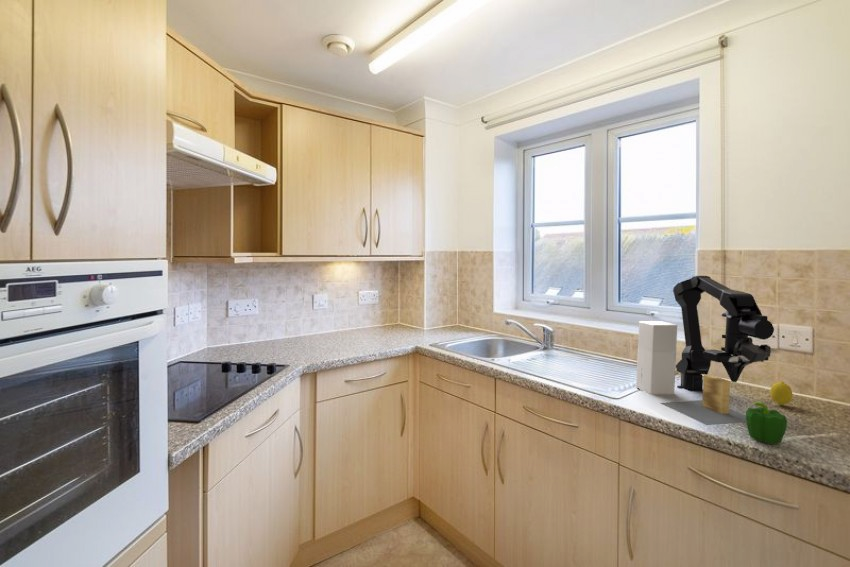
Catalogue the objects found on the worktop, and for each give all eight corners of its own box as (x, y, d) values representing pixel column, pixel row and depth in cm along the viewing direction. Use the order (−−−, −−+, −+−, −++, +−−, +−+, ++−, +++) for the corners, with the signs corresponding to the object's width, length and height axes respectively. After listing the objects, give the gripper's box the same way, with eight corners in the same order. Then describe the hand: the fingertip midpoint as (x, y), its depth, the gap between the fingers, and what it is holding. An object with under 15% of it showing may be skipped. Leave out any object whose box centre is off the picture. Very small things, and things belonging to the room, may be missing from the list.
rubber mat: (659, 404, 135) (659, 402, 135) (707, 401, 138) (707, 399, 138) (706, 426, 117) (706, 424, 117) (759, 422, 120) (759, 420, 120)
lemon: (795, 409, 131) (796, 384, 131) (773, 407, 133) (775, 383, 133) (786, 403, 136) (788, 380, 136) (766, 401, 138) (767, 378, 138)
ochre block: (702, 405, 132) (703, 375, 132) (709, 405, 133) (710, 374, 132) (721, 413, 125) (723, 381, 125) (728, 413, 126) (730, 381, 125)
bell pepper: (787, 440, 109) (789, 403, 108) (784, 450, 103) (786, 411, 102) (747, 431, 115) (749, 395, 114) (742, 440, 109) (744, 403, 108)
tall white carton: (635, 388, 152) (638, 321, 150) (658, 387, 153) (661, 320, 151) (650, 396, 143) (653, 324, 142) (674, 395, 144) (677, 324, 142)
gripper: (735, 338, 119) (732, 391, 120) (788, 337, 123) (784, 388, 124) (702, 332, 130) (700, 380, 131) (752, 330, 134) (749, 377, 135)
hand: (733, 381), depth 130 cm, fingers closed
